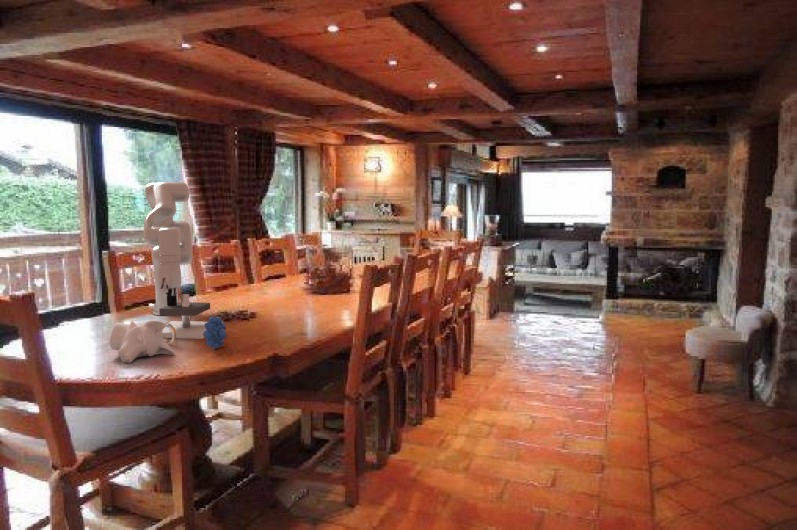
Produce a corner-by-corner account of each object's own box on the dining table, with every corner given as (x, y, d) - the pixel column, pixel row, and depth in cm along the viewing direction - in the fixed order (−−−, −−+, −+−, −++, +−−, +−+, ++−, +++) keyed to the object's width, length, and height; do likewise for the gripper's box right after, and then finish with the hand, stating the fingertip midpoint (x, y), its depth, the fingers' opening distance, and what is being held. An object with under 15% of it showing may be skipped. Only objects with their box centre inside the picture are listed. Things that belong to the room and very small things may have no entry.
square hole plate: (159, 315, 210) (159, 308, 210) (177, 308, 224) (176, 302, 223) (194, 315, 209) (194, 309, 208) (210, 308, 223) (210, 302, 222)
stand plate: (146, 337, 208) (146, 332, 208) (172, 325, 228) (172, 320, 228) (202, 338, 206) (202, 333, 206) (223, 326, 226) (223, 321, 226)
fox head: (88, 344, 170) (152, 340, 169) (113, 314, 185) (172, 310, 184) (102, 378, 176) (164, 375, 175) (125, 347, 191) (183, 343, 190)
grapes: (216, 354, 185) (215, 319, 184) (199, 352, 187) (197, 318, 186) (235, 346, 196) (234, 313, 195) (219, 344, 198) (218, 312, 197)
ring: (178, 344, 198) (177, 322, 197) (171, 346, 195) (170, 324, 194) (163, 342, 201) (162, 321, 200) (156, 344, 198) (155, 322, 197)
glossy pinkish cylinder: (179, 327, 215) (178, 295, 214) (184, 325, 219) (182, 293, 217) (188, 328, 215) (187, 295, 213) (192, 325, 219) (191, 294, 217)
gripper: (170, 257, 222) (172, 302, 224) (150, 261, 207) (153, 308, 209) (187, 257, 221) (189, 302, 223) (169, 261, 207) (171, 309, 209)
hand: (172, 305), depth 216 cm, fingers closed
